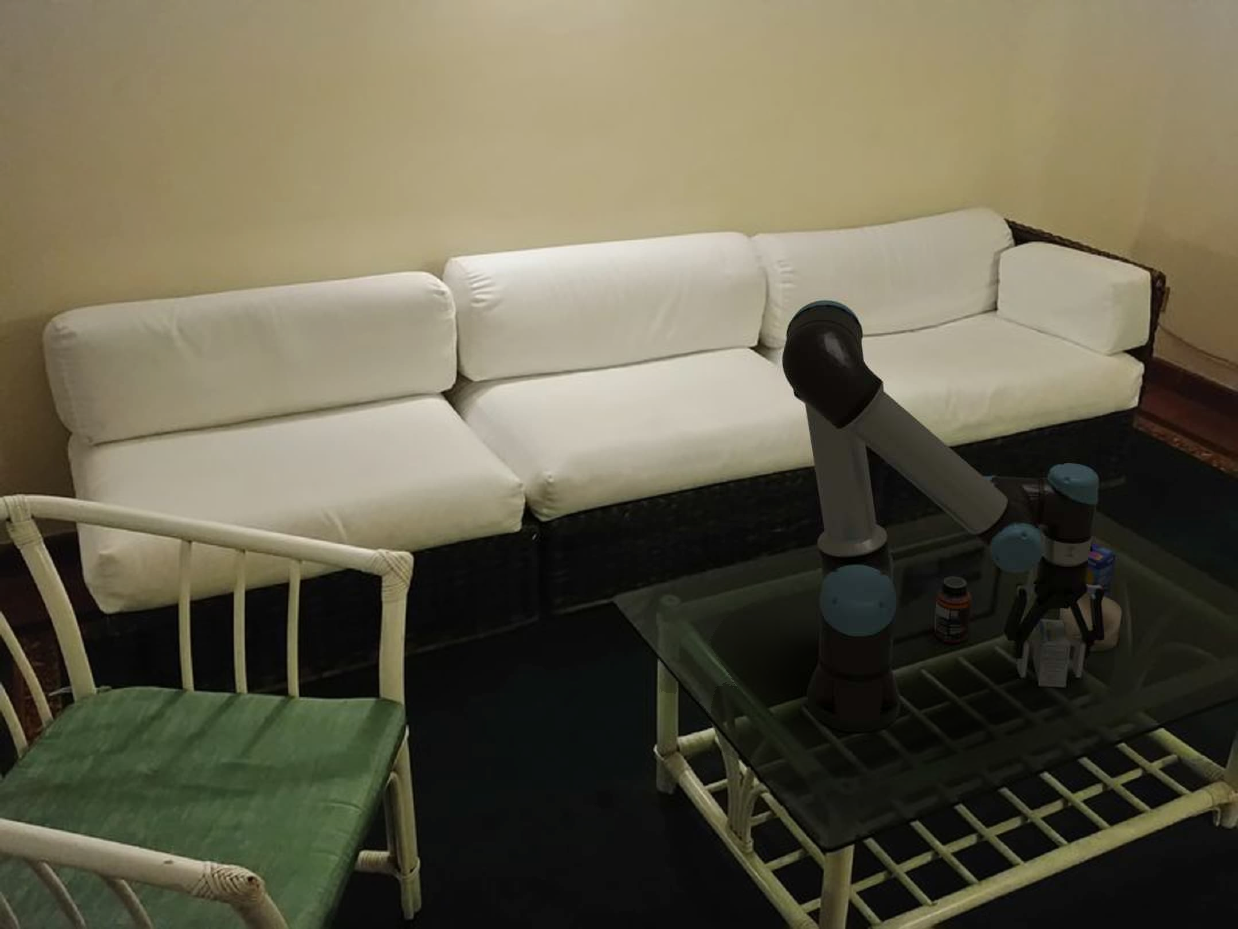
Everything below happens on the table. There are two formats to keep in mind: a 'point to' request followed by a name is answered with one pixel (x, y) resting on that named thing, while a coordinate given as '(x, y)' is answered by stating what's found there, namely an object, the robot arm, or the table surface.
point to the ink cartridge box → (1100, 567)
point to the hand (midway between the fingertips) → (1048, 672)
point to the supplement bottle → (953, 611)
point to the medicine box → (1051, 653)
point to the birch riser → (1110, 622)
